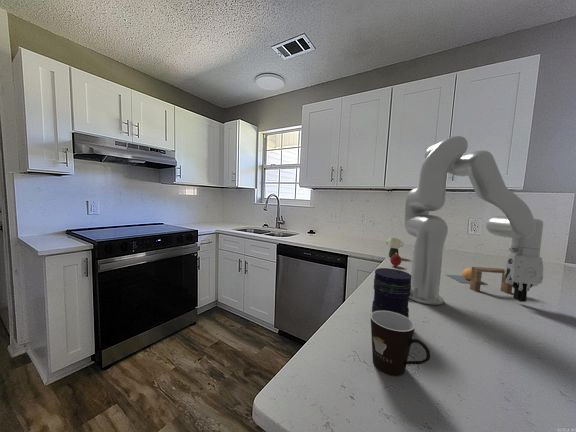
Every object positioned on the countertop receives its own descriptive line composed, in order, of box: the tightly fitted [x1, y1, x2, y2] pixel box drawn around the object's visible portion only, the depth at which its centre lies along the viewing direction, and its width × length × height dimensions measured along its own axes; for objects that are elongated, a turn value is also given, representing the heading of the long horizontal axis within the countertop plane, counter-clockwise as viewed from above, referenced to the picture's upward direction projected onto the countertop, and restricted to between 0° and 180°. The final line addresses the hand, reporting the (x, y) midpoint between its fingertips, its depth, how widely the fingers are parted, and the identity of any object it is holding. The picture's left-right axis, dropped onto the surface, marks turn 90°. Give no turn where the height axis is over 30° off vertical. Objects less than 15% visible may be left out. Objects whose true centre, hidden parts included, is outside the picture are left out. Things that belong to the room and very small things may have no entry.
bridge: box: [469, 266, 513, 294], centre depth 99 cm, size 3×15×10 cm, turn 87°
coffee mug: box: [370, 311, 431, 377], centre depth 48 cm, size 12×9×10 cm
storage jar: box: [371, 267, 411, 319], centre depth 68 cm, size 10×10×15 cm
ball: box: [462, 267, 472, 281], centre depth 113 cm, size 6×6×6 cm
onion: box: [389, 253, 402, 268], centre depth 132 cm, size 6×6×8 cm
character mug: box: [385, 237, 404, 258], centre depth 157 cm, size 11×7×13 cm, turn 50°
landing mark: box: [446, 274, 487, 285], centre depth 115 cm, size 12×12×1 cm
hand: (519, 300), depth 87 cm, fingers closed
